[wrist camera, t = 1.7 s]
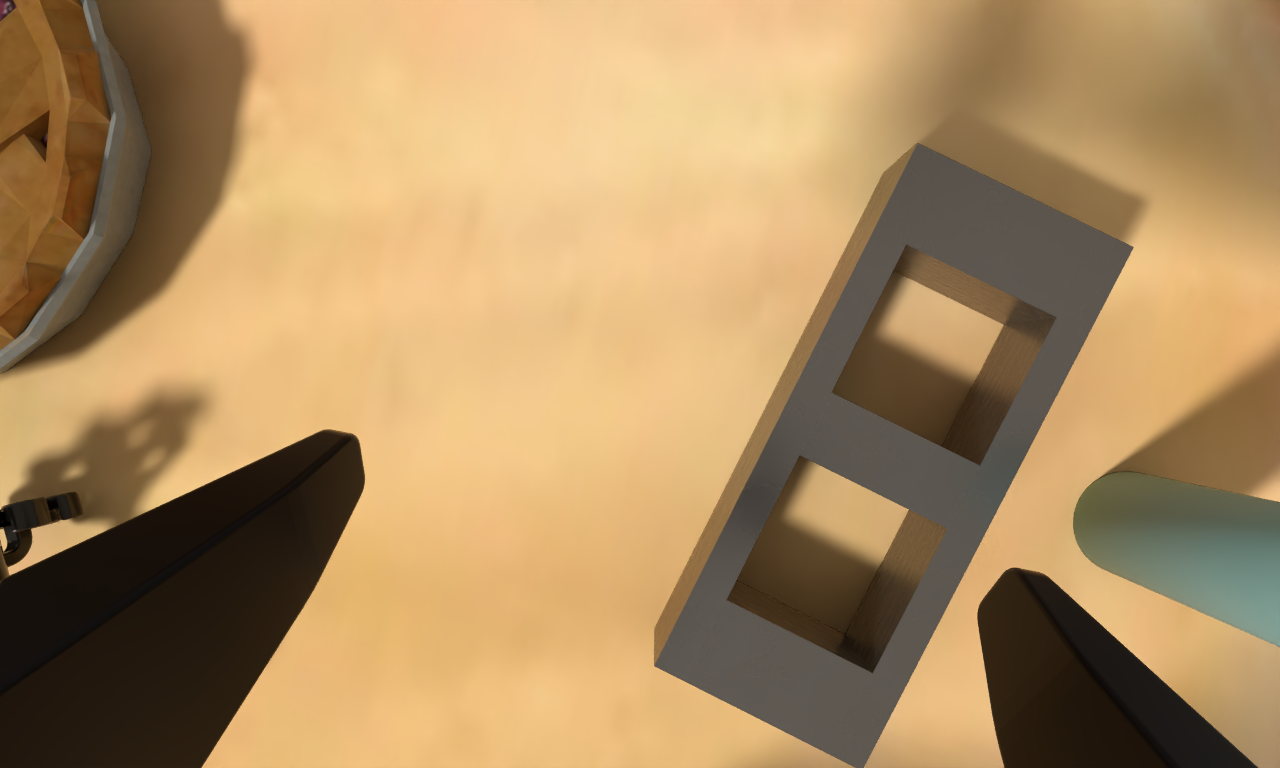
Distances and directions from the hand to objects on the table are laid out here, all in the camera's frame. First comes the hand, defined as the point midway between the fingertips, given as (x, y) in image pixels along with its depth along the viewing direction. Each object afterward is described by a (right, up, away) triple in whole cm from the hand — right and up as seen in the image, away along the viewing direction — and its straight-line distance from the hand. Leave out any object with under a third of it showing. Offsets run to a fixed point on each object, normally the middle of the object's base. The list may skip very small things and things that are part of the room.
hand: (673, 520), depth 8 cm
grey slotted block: (+8, -1, +15) cm, 17 cm away
